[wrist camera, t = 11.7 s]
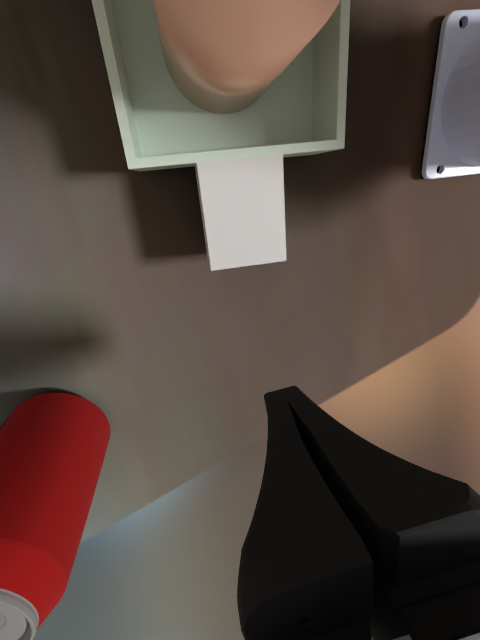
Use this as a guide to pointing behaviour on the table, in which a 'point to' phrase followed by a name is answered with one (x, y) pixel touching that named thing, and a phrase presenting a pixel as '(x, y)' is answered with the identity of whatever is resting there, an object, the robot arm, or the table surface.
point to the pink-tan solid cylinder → (234, 45)
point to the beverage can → (44, 502)
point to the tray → (226, 128)
